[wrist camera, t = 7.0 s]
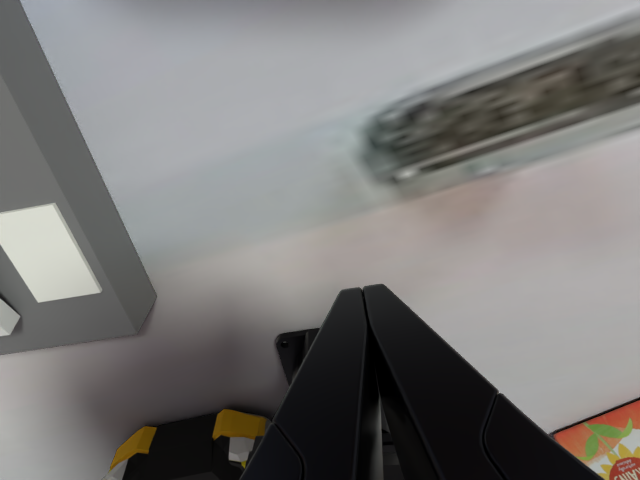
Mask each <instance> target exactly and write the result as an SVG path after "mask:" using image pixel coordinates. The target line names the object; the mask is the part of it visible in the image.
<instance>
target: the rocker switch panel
mask: <svg viewBox="0 0 640 480" xmlns="http://www.w3.org/2000/svg"><path fill="white" fill-rule="evenodd" d="M156 298H157V295H156V293H155V291H154V289H153V286H152V284H151V282H150V280H149V278H148V276H147V274H146V271H145V269H144V267H143V265H142V263H141V261H140V259H139V256H138V254H137V252H136V250H135V248H134V246H133V244H132V241H131V239H130V237H129V235H128V233H127V231H126V229H125V226H124V224H123V222H122V220H121V218H120V216H119V214H118V211H117V209H116V207H115V205H114V203H113V201H112V198H111V196H110V194H109V192H108V190H107V188H106V186H105V183H104V181H103V179H102V177H101V175H100V173H99V171H98V168H97V166H96V164H95V162H94V160H93V158H92V156H91V153H90V151H89V149H88V147H87V145H86V143H85V141H84V138H83V136H82V134H81V132H80V130H79V128H78V125H77V123H76V121H75V119H74V117H73V115H72V113H71V110H70V108H69V106H68V104H67V102H66V100H65V98H64V95H63V93H62V91H61V89H60V87H59V85H58V83H57V80H56V78H55V76H54V74H53V72H52V70H51V68H50V65H49V63H48V61H47V59H46V57H45V55H44V52H43V50H42V48H41V46H40V44H39V42H38V40H37V37H36V35H35V33H34V31H33V29H32V27H31V25H30V22H29V20H28V18H27V16H26V14H25V12H24V10H23V7H22V5H21V3H20V1H19V0H0V299H1V300H3V301H4V302H5V303H6V304H7V305H8V306H9V307H11V308H12V309H13V310H14V311H15V312H16V313H17V314H18V315H20V318H19V320H18V322H17V323H16V325H15V327H14V329H13V331H12V332H11V334H10V335H5V336H0V355H4V354H11V353H17V352H24V351H30V350H37V349H44V348H50V347H57V346H63V345H70V344H77V343H83V342H90V341H96V340H103V339H110V338H116V337H123V336H129V335H136V334H138V332H139V330H140V328H141V326H142V324H143V322H144V320H145V319H146V317H147V315H148V313H149V311H150V309H151V307H152V305H153V303H154V301H155V300H156Z"/></svg>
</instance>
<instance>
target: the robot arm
mask: <svg viewBox="0 0 640 480" xmlns="http://www.w3.org/2000/svg"><path fill="white" fill-rule="evenodd" d="M362 291H363V292H362ZM363 297H364V298H363ZM284 341H286V342H288V343H283V342H284ZM276 345H277V349H278V352H279V355H280V359H281V362H282V365H283V368H284V372H285V375H286V378H287V381H288V384H289V389H288V391H287V393H286V395H285V397H284V399H283V401H282V402H281V404H280V406H279V408H278V410H277V412H276V414H275V416H274V418H273V420H272V422H273V423H271V424H270V425H269V427H268V429H267V430H266V432H265V434H264V436H256V437H255V440H254V445H253V449H252V451H249V455H248V459H247V461H246V464H245V470H244V472H243V474H242V476H241V477H240V479H239V480H605V479H604V478H603V477H601V476H600V475H599V474H597V473H596V472H595V471H593V470H592V469H591V468H589V467H588V466H587V465H586V464H584V463H583V462H582V461H580V460H579V459H578V458H577V457H575V456H574V455H573V454H572V453H570V452H569V451H568V450H567V449H565V448H564V447H563V446H561V445H560V444H559V443H558V442H556V441H555V440H554V439H553V438H551V437H550V436H549V435H548V434H547V433H545V432H544V431H543V430H542V429H541V428H540V427H539V426H538V425H536V424H535V423H534V422H533V421H532V420H531V419H530V418H528V417H527V416H526V415H525V414H524V413H523V412H522V411H520V410H519V409H518V408H517V407H516V406H515V405H514V404H513V403H512V402H511V401H510V400H509V399H508V398H506V397H505V396H504V395H503V394H502V393H499V391H498V390H497V389H496V388H495V387H494V386H493V385H492V384H491V383H490V382H489V381H488V380H487V379H486V378H485V377H483V376H482V375H481V374H480V373H479V372H478V371H477V370H476V369H475V368H474V367H473V366H472V365H470V364H469V363H468V362H467V361H466V360H465V359H464V358H463V357H462V356H461V355H460V354H459V353H458V352H456V351H455V350H454V349H453V348H452V347H451V346H450V345H449V344H448V343H447V342H446V341H445V340H443V339H442V338H441V337H440V336H439V335H438V334H437V333H436V332H435V331H434V330H433V329H432V328H430V327H429V326H428V325H427V324H426V323H425V322H424V321H423V320H422V319H421V318H420V317H419V316H418V315H416V314H415V313H414V312H413V311H412V310H411V309H410V308H409V307H408V306H407V305H406V304H405V303H403V302H402V301H401V300H400V299H399V298H398V297H397V296H396V295H395V294H394V293H393V292H392V291H390V290H389V289H388V288H387V287H386V286H385V285H384V284H376V285H369V286H365V287H363V290H362V289H361V288H359V287H356V288H350V289H343V290H341V291H340V292H339V294H338V296H337V298H336V300H335V302H334V304H333V306H332V307H331V309H330V311H329V313H328V315H327V317H326V319H325V321H324V323H323V325H322V326H321V328H317V329H310V330H303V331H297V332H290V333H283V334H280V335H279V336H278V337H277V343H276Z"/></svg>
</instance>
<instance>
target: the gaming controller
mask: <svg viewBox="0 0 640 480" xmlns="http://www.w3.org/2000/svg"><path fill="white" fill-rule="evenodd" d="M271 423H272V422H271V421H270V420H269V419H268V418H266V417H264V416H260V415H254V414H249V413H242V412H238V411H234V410H229V409H223V410H222V411H221V412H220V413H219V414H218V413H216V414H212V415H207V416H203V417H198V418H193V419H189V420H184V421H179V422H175V423H170V424H166V425H161V426H158V427H157V428H156V427H149V426H145V427H143V428H141V429H140V430H138V431H137V432H136V433H135V434H133V435H132V436H131V437H130V438H129V439H128V440H127V441H126V442H125V443H123V444H122V445H121V446H120V447H119V448H118V449H117V451H116V454H115V456H114V459H113V461H112V464H111V466H110V470H109V473H108V474H107V475H106V476H105V477H104V478H103V479H102V480H239V479H240V477H241V476H242V474H243V472H244V470H245V464H246V461H247V459H248V455H249V451H252V449H253V445H254V440H255V437H256V436H264V434H265V432H266V430H267V429H268V427H269V425H270V424H271Z"/></svg>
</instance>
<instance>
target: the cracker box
mask: <svg viewBox="0 0 640 480" xmlns="http://www.w3.org/2000/svg"><path fill="white" fill-rule="evenodd" d="M553 436H554V439H555V441H556V442H558V443H559V444H560V445H561V446H563V447H564V448H565V449H567V450H568V451H569V452H570V453H572V454H573V455H574V456H575V457H577V458H578V459H579V460H580V461H582V462H583V463H584V464H586V465H587V466H588V467H589V468H591V469H592V470H593V471H595V472H596V473H597V474H599V475H600V476H601V477H603V478H604V479H605V480H640V400H639V401H636V402H633V403H631V404H628V405H626V406H623V407H621V408H618V409H616V410H613V411H611V412H608V413H606V414H603V415H601V416H598V417H596V418H593V419H591V420H588V421H586V422H583V423H581V424H578V425H576V426H573V427H571V428H568V429H566V430H563V431H561V432H558V433H556V434H554V435H553Z"/></svg>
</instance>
